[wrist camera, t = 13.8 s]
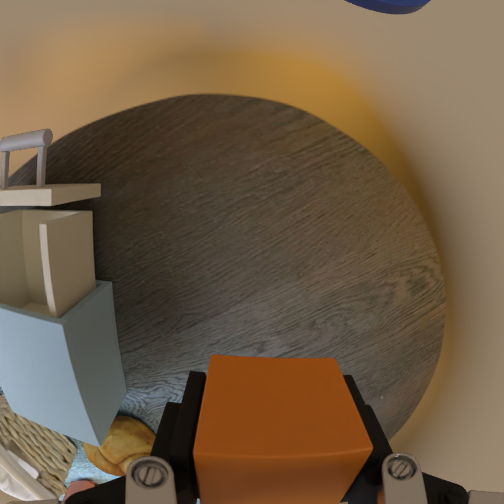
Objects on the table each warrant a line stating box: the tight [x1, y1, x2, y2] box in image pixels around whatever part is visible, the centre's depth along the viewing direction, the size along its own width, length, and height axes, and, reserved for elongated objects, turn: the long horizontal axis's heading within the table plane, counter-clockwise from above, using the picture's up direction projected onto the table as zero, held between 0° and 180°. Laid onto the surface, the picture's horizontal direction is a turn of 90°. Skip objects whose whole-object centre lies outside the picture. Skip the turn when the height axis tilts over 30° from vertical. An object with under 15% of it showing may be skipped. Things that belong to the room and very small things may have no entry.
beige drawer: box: [0, 129, 101, 319], centre depth 21 cm, size 18×11×8 cm, turn 175°
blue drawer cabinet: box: [0, 280, 127, 447], centre depth 24 cm, size 15×13×10 cm
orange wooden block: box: [193, 355, 373, 504], centre depth 8 cm, size 4×4×4 cm
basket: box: [0, 394, 77, 501], centre depth 27 cm, size 24×16×15 cm
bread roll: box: [83, 416, 156, 476], centre depth 29 cm, size 13×10×8 cm
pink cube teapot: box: [63, 480, 95, 500], centre depth 34 cm, size 8×12×8 cm, turn 123°
